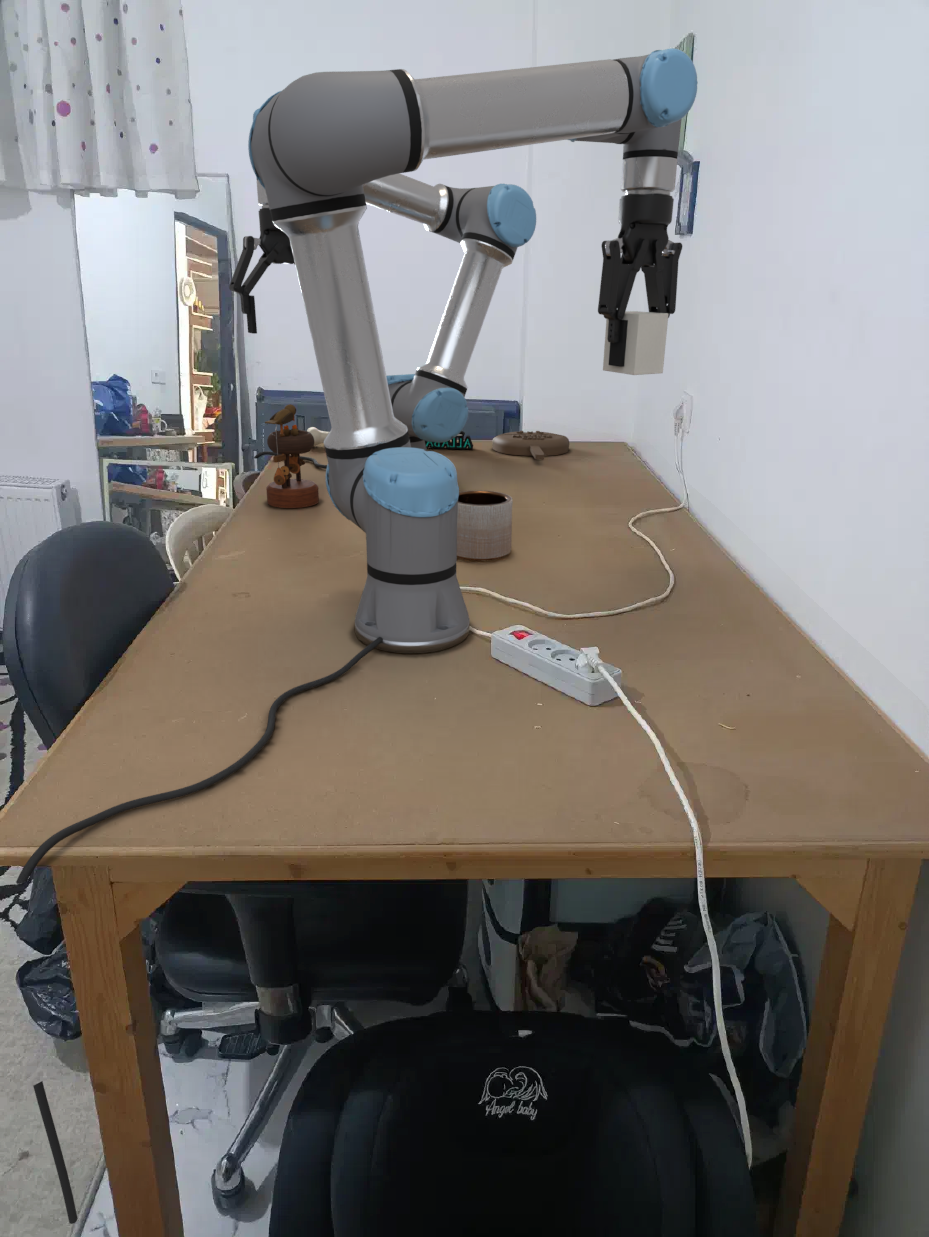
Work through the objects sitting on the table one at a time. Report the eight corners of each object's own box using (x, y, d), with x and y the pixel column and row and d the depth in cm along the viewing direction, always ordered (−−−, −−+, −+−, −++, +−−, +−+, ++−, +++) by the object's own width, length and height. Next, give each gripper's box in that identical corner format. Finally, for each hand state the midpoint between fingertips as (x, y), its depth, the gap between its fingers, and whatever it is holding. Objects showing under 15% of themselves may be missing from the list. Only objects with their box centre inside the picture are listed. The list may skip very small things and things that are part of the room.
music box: (311, 511, 168) (297, 408, 160) (258, 513, 169) (241, 411, 162) (331, 492, 182) (318, 397, 174) (282, 494, 183) (267, 400, 176)
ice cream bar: (498, 464, 211) (498, 448, 209) (490, 443, 237) (490, 428, 235) (581, 465, 212) (583, 448, 210) (564, 444, 238) (565, 429, 236)
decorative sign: (473, 447, 231) (474, 391, 225) (472, 449, 229) (473, 392, 223) (404, 445, 232) (403, 389, 226) (403, 447, 230) (402, 390, 224)
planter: (440, 545, 148) (440, 491, 144) (498, 541, 151) (500, 488, 148) (458, 564, 139) (459, 507, 135) (520, 559, 142) (522, 503, 138)
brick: (630, 368, 133) (635, 311, 129) (662, 373, 127) (668, 313, 124) (602, 370, 130) (606, 311, 127) (634, 375, 124) (639, 314, 121)
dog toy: (379, 443, 235) (378, 424, 233) (380, 447, 230) (380, 428, 228) (305, 444, 232) (304, 425, 230) (305, 448, 226) (304, 429, 225)
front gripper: (676, 199, 127) (661, 360, 136) (577, 192, 118) (568, 365, 126) (714, 196, 121) (695, 364, 130) (613, 188, 112) (600, 370, 121)
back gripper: (334, 212, 161) (338, 329, 169) (204, 205, 149) (215, 332, 157) (351, 210, 155) (355, 332, 164) (217, 203, 143) (229, 335, 151)
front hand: (632, 364), depth 128 cm, fingers closed on brick, 6 cm apart
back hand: (287, 332), depth 160 cm, fingers open, 13 cm apart
